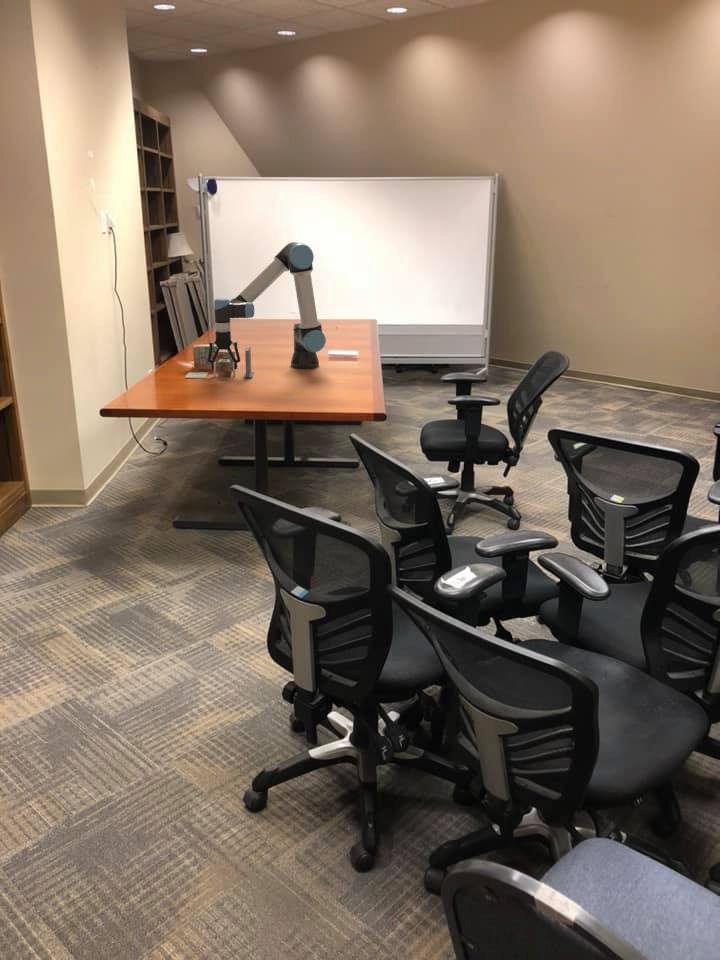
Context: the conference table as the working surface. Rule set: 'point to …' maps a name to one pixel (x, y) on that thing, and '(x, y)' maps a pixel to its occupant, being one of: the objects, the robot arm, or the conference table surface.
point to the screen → (248, 364)
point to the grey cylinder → (224, 368)
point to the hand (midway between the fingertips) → (224, 375)
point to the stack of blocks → (202, 356)
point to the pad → (197, 375)
